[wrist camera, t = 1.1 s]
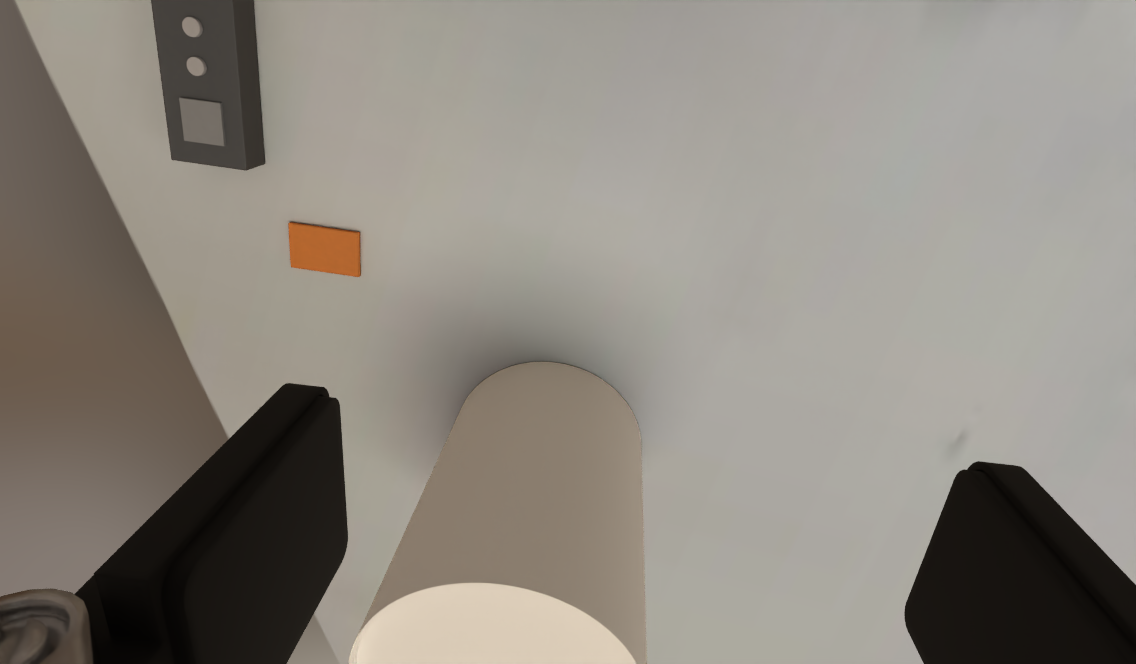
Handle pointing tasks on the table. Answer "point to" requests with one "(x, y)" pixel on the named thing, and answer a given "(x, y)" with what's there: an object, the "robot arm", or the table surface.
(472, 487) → the canister
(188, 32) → the remote
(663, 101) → the table surface
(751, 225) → the table surface
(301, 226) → the tiles
